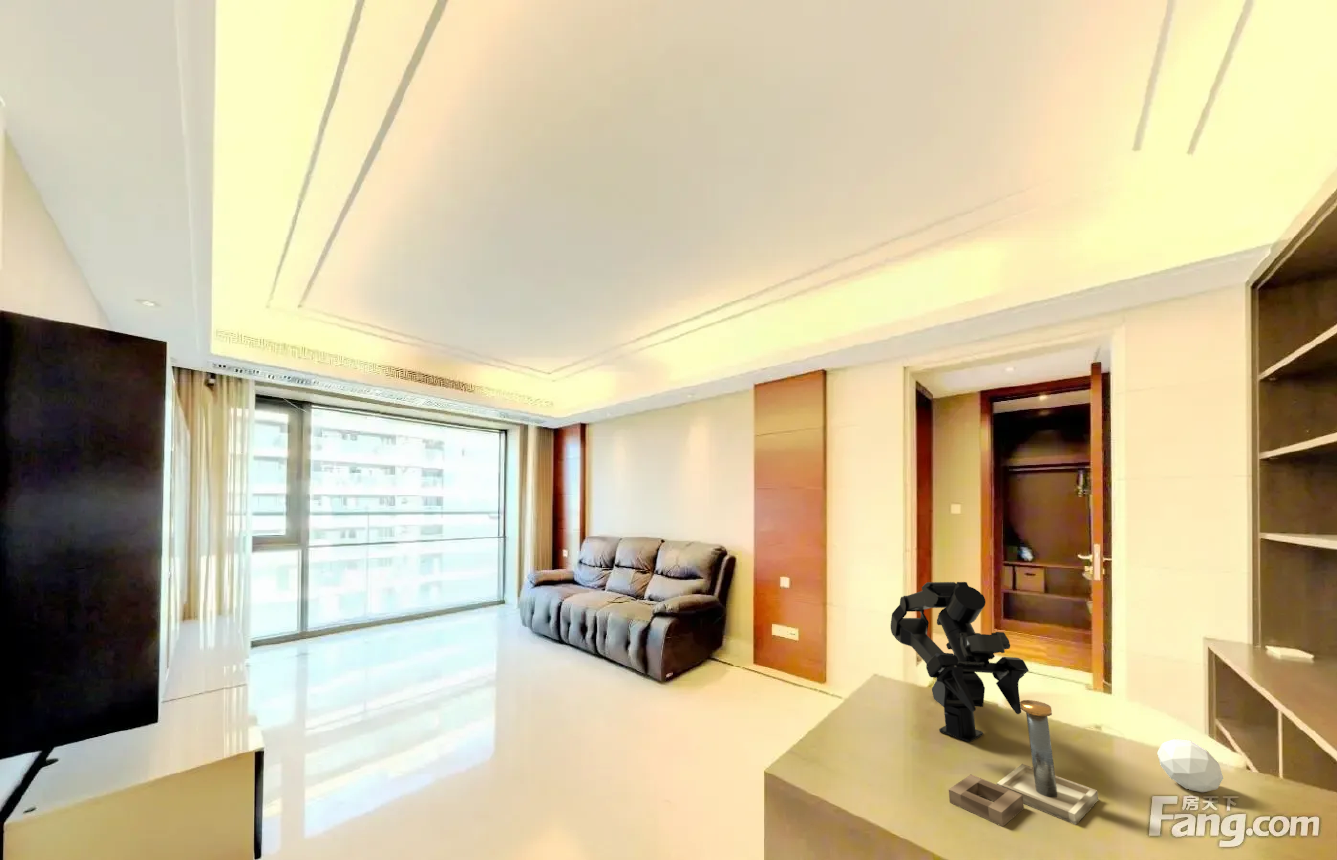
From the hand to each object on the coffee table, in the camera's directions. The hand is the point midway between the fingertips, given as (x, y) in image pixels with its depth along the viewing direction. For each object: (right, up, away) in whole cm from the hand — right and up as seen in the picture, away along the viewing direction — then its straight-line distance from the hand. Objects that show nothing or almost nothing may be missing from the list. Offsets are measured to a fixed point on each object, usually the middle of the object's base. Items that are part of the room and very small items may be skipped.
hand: (996, 712), depth 95 cm
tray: (+2, -8, -11) cm, 14 cm away
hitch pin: (+2, -8, -10) cm, 13 cm away
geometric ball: (+28, -8, -9) cm, 31 cm away
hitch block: (-10, -8, -13) cm, 18 cm away
